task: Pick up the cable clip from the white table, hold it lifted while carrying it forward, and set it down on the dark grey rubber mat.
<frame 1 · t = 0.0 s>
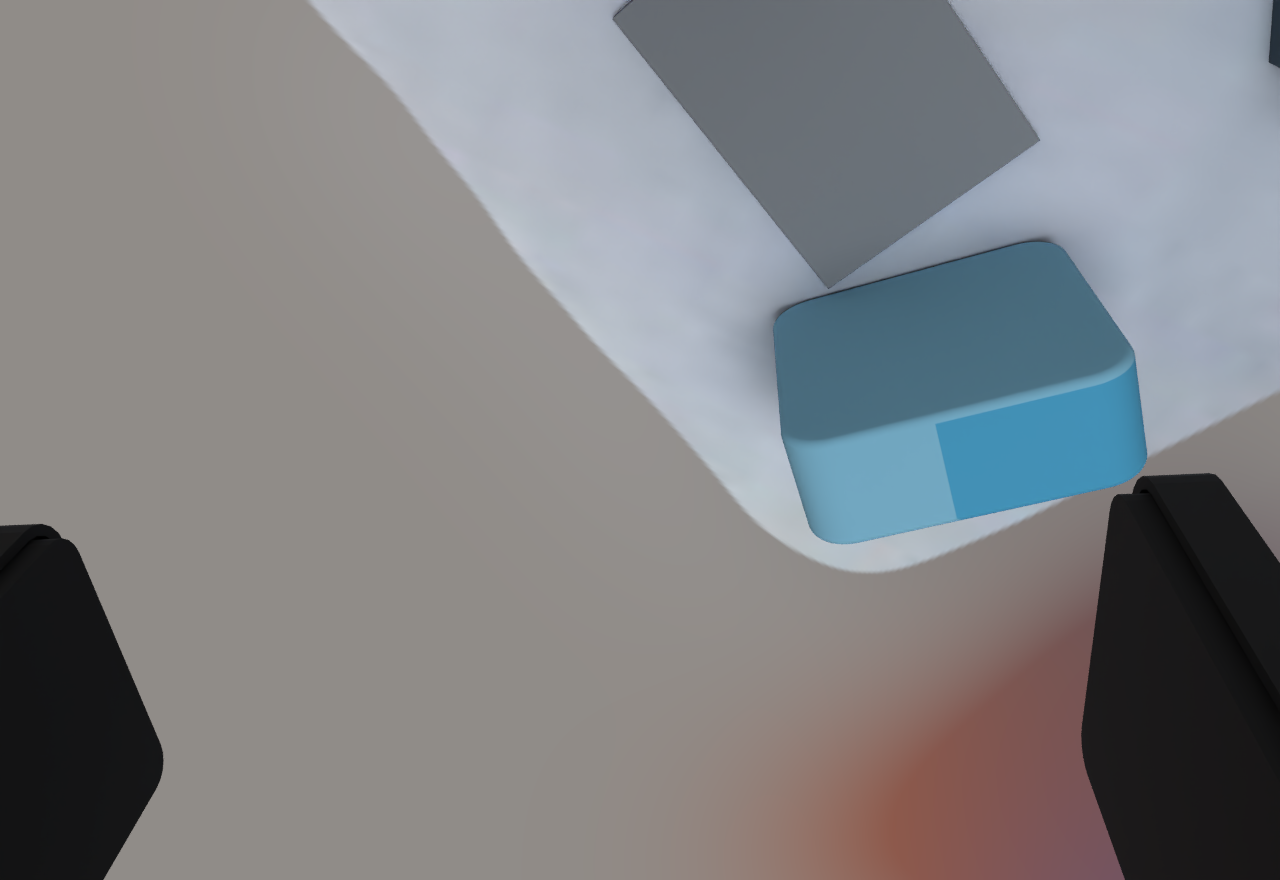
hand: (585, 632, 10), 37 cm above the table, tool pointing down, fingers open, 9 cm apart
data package: (918, 316, 48), on the table
mat: (828, 77, 44), on the table
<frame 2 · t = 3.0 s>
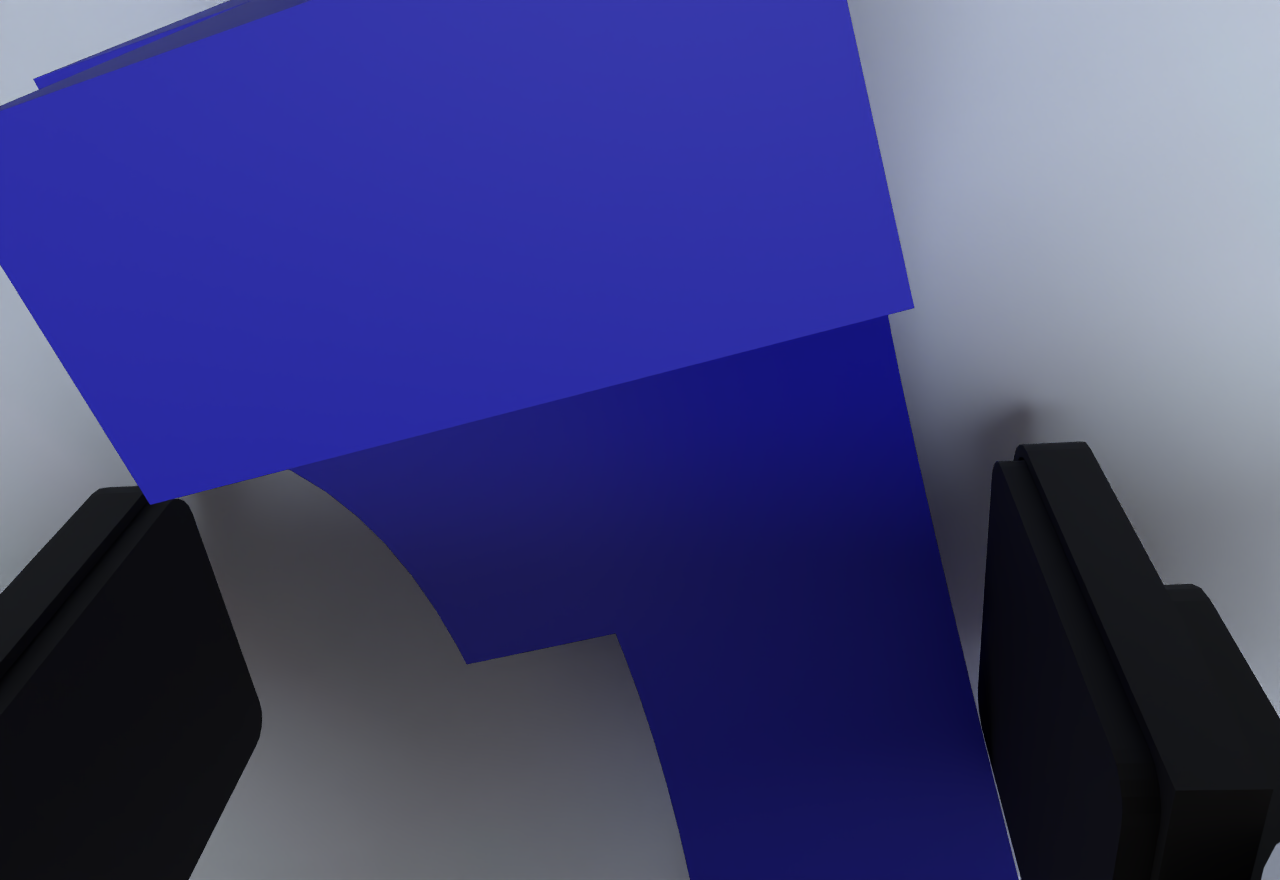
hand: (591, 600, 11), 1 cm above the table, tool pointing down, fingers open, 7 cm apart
cable clip: (698, 513, 12), on the table, touching gripper
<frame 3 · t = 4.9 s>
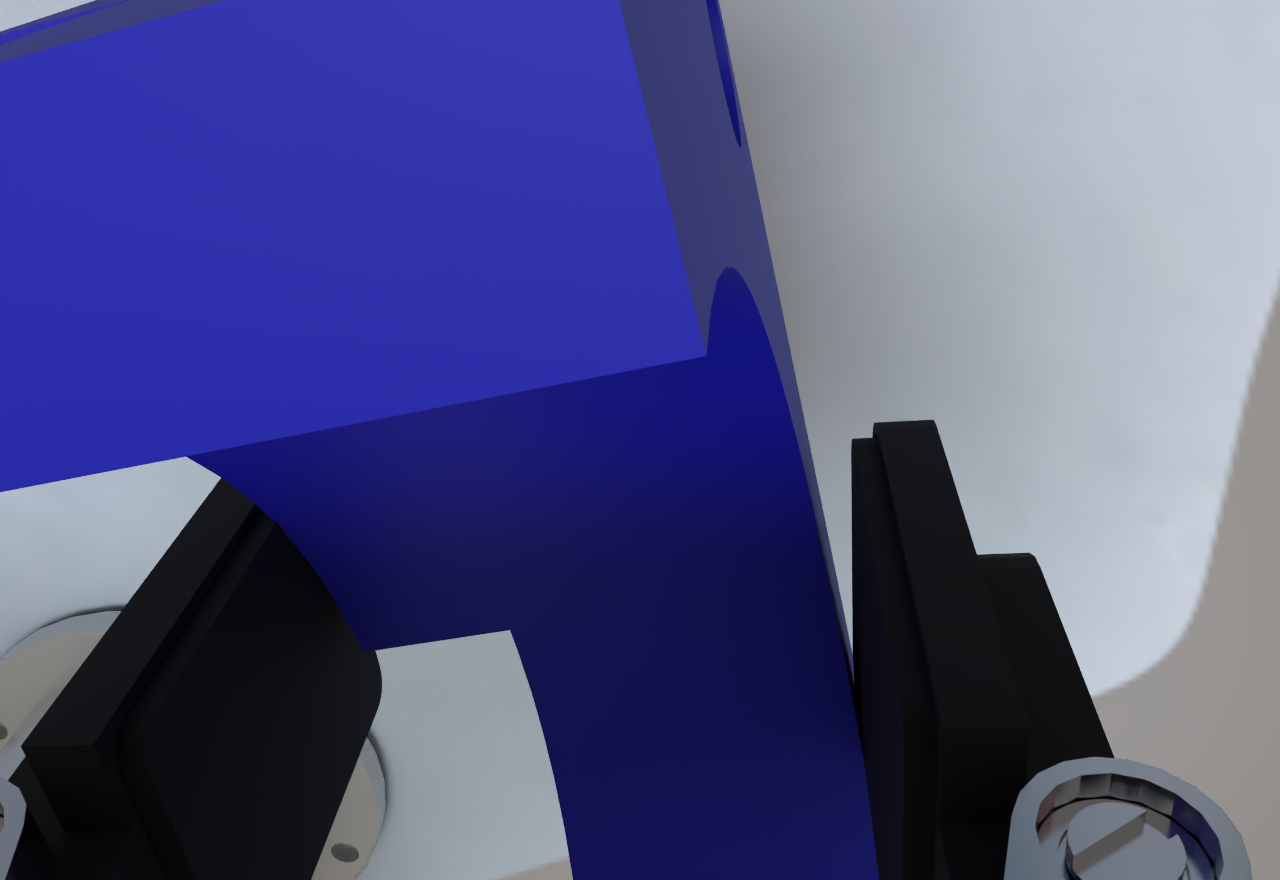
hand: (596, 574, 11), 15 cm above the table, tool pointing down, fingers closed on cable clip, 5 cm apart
cable clip: (605, 515, 12), point 14 cm above the table, touching gripper
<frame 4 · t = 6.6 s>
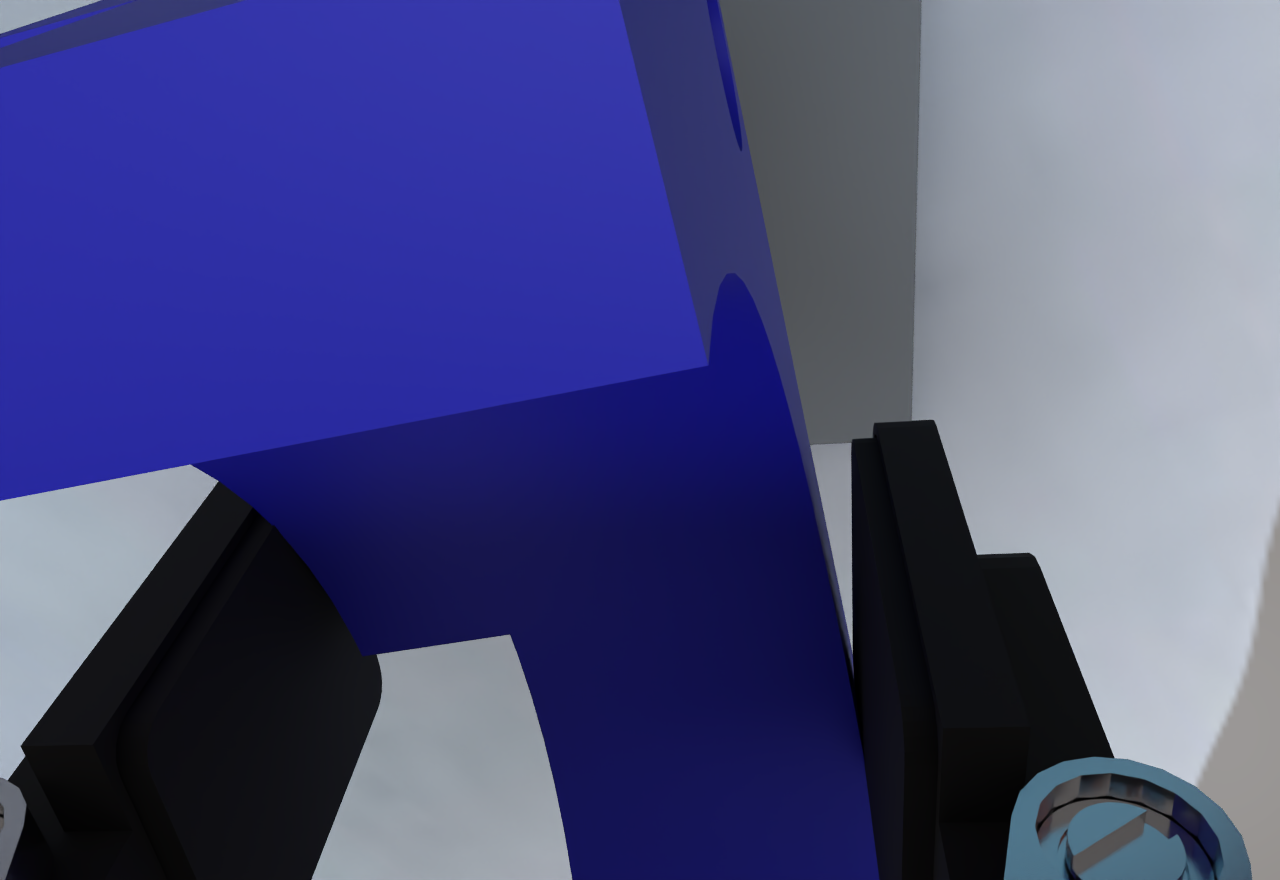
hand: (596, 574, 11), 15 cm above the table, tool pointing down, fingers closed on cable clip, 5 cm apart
mat: (672, 150, 24), on the table
cable clip: (605, 519, 12), point 14 cm above the table, touching gripper
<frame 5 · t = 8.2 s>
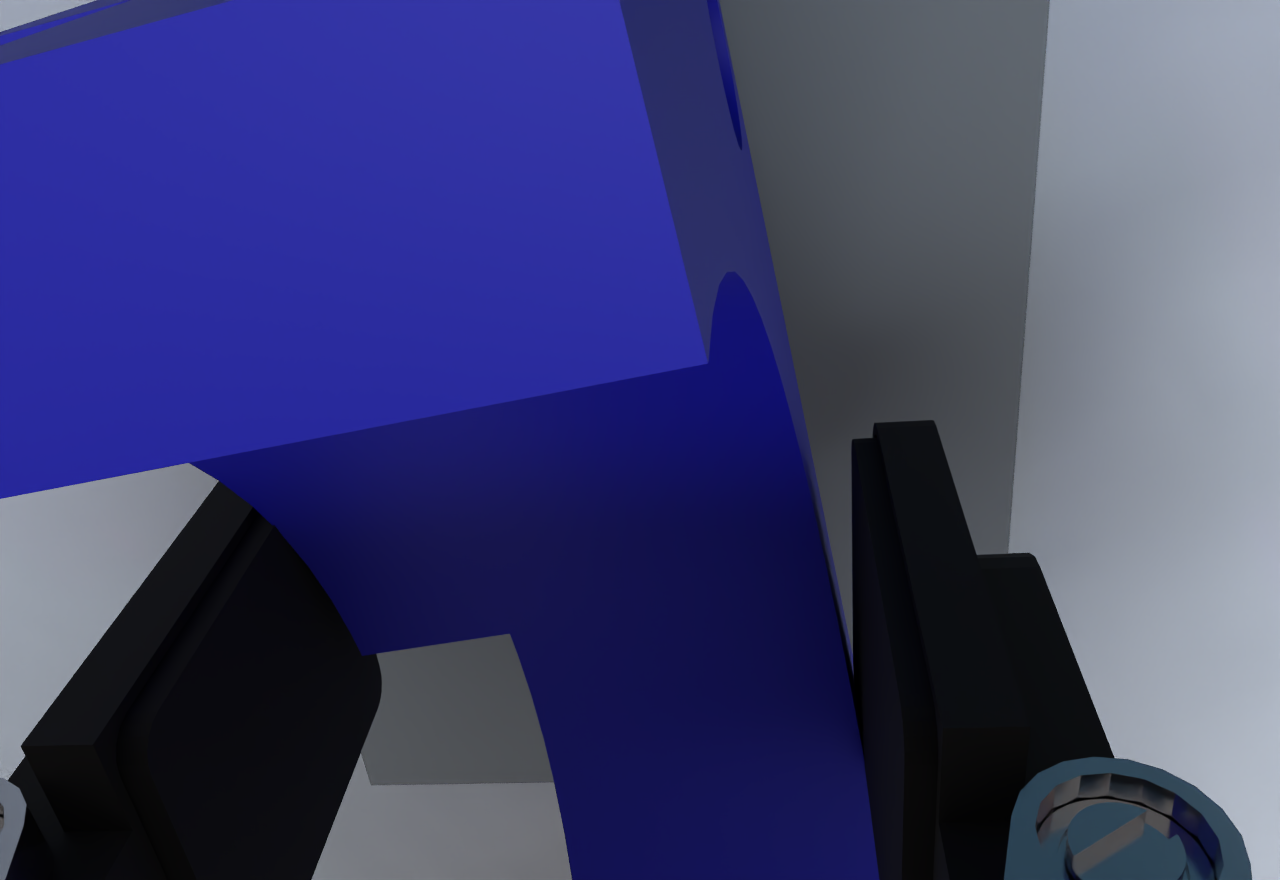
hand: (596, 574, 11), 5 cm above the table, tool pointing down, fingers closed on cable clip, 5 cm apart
mat: (629, 372, 15), on the table
cable clip: (605, 518, 12), point 4 cm above the table, touching gripper
when the fingers open (2 cm above the table, at t = 9.6 s): cable clip stays where it is, resting on mat.
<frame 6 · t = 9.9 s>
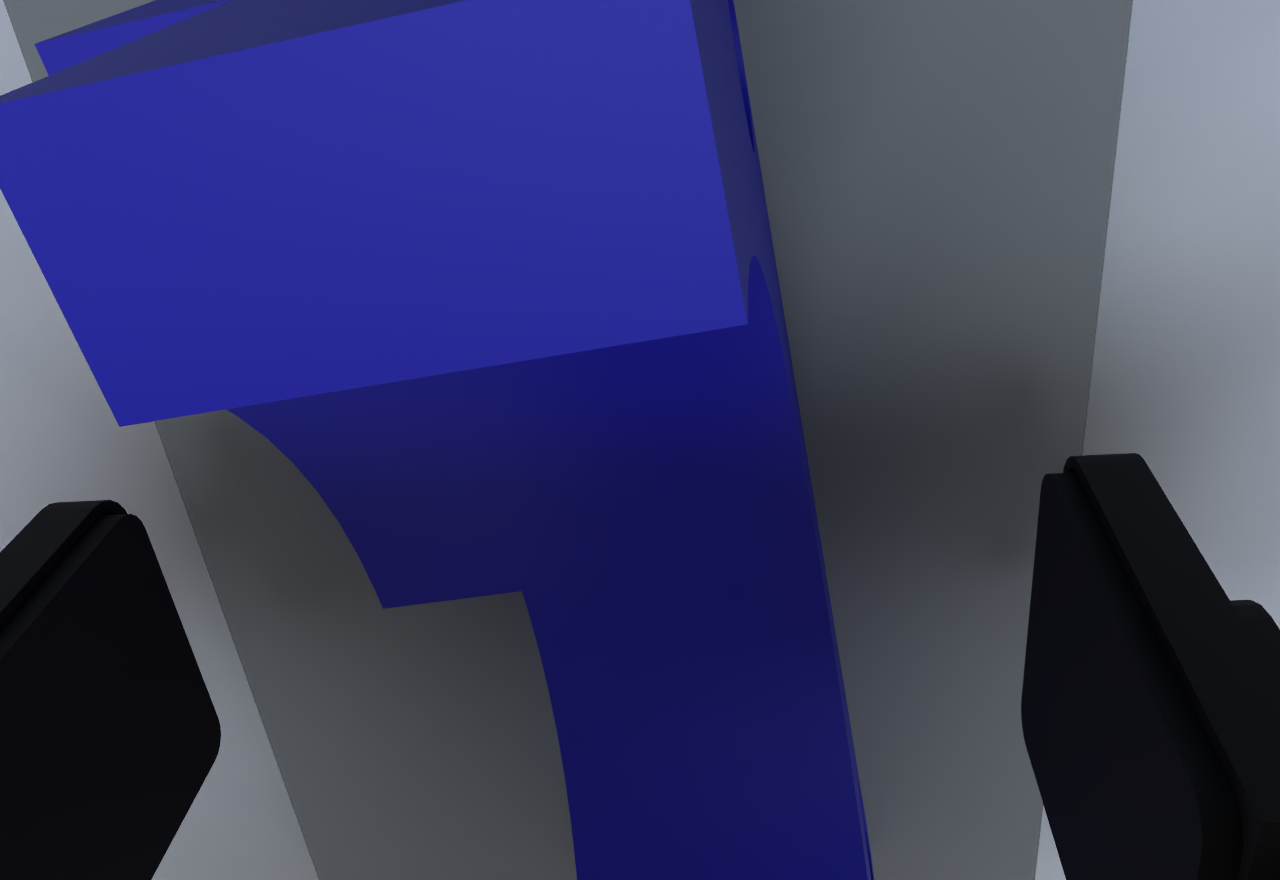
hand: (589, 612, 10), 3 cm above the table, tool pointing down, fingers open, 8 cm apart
mat: (617, 457, 13), on the table
cable clip: (609, 490, 13), resting on mat
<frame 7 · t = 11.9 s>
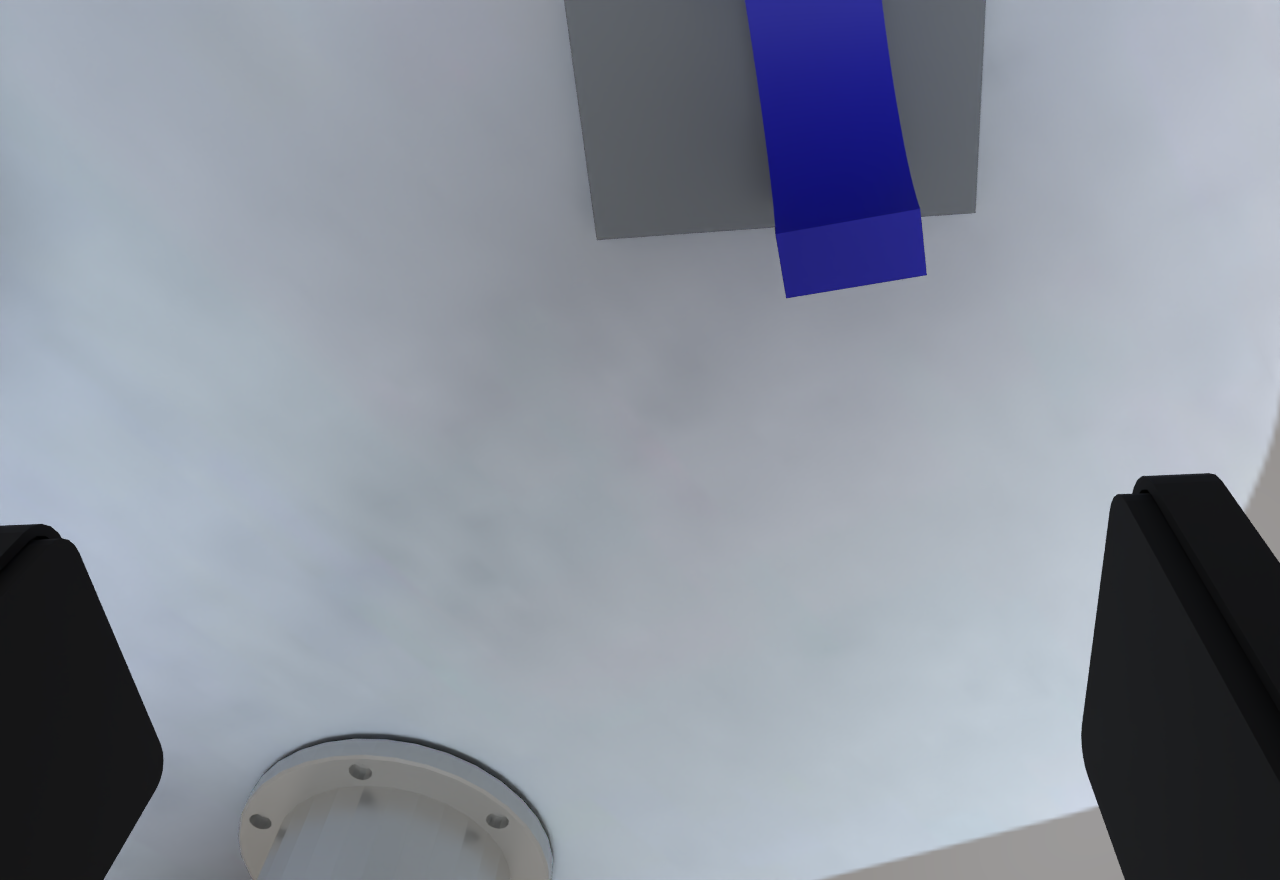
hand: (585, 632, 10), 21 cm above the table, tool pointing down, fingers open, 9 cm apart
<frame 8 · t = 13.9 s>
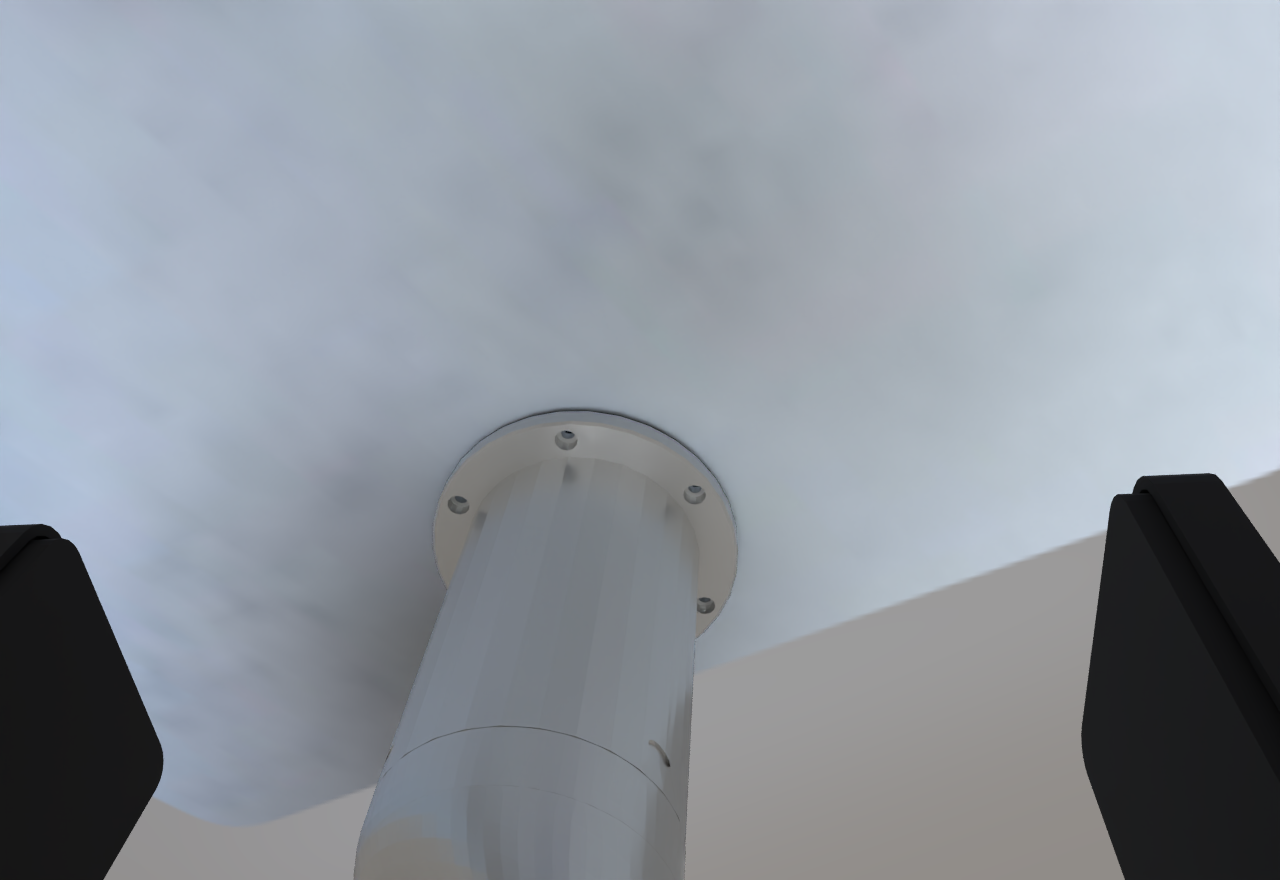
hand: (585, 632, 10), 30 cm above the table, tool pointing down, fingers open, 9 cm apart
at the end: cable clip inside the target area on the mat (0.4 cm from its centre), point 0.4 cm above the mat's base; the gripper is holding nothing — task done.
